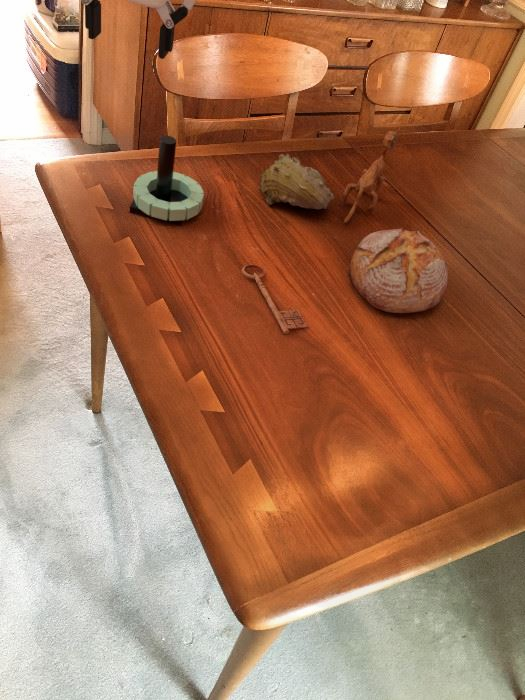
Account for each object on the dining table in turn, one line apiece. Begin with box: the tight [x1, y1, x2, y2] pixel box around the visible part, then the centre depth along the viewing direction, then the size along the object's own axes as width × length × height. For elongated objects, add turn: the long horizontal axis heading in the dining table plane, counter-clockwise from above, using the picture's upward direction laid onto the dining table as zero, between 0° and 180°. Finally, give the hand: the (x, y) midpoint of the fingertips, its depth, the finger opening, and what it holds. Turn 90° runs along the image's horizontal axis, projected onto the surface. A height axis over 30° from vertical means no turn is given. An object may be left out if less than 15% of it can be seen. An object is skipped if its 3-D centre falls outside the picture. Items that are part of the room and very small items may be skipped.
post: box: [129, 135, 188, 226], centre depth 92 cm, size 9×9×12 cm
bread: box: [349, 227, 449, 314], centre depth 92 cm, size 16×20×10 cm
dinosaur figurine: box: [342, 127, 401, 224], centre depth 105 cm, size 18×7×14 cm, turn 154°
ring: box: [132, 170, 205, 221], centre depth 95 cm, size 12×12×2 cm
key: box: [241, 264, 308, 335], centre depth 86 cm, size 6×1×15 cm
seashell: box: [258, 153, 335, 211], centre depth 103 cm, size 11×14×10 cm
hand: (129, 45), depth 76 cm, fingers open, 9 cm apart
